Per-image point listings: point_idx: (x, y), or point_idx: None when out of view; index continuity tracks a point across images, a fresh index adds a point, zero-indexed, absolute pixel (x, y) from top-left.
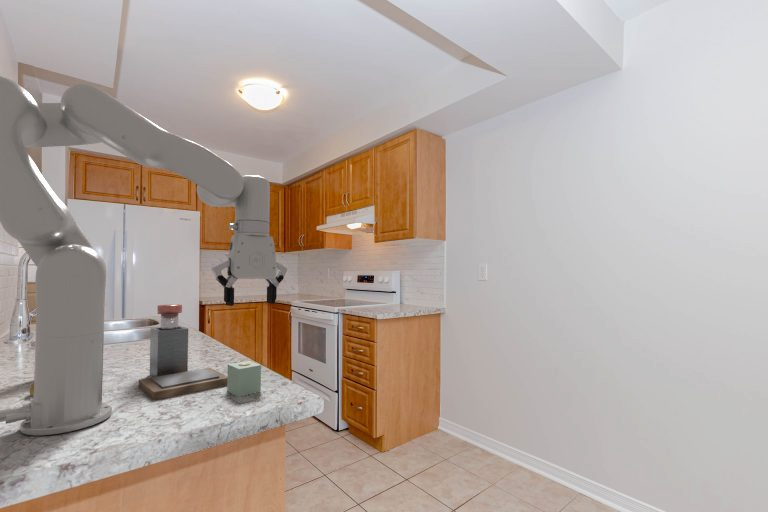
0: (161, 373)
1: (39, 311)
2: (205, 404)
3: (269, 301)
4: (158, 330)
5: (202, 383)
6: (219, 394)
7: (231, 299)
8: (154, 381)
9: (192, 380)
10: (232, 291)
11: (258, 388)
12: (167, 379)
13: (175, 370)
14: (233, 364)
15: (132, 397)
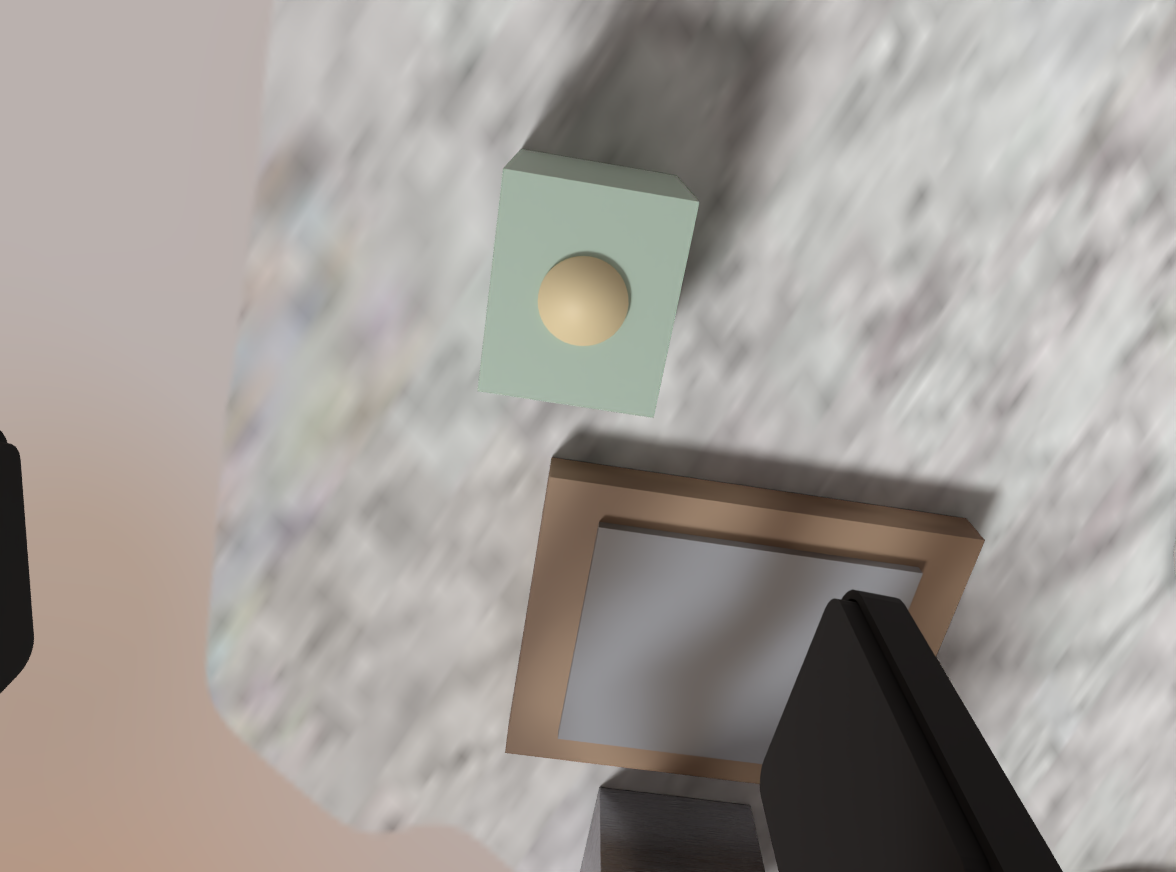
0: (734, 831)
1: None
2: (875, 218)
3: (9, 562)
4: None
5: (723, 501)
6: (711, 326)
7: (934, 660)
8: None
9: (752, 564)
10: (997, 803)
11: (536, 153)
12: None
13: (664, 826)
14: (630, 377)
15: (985, 636)
